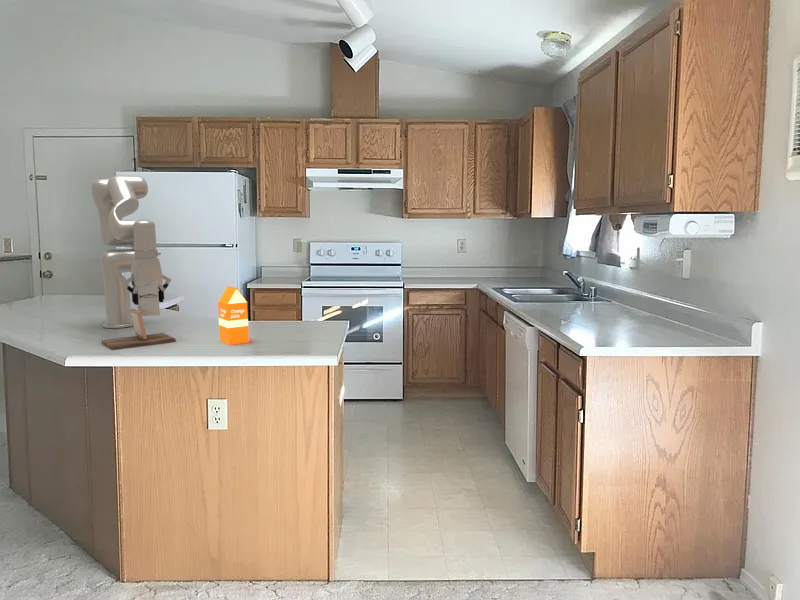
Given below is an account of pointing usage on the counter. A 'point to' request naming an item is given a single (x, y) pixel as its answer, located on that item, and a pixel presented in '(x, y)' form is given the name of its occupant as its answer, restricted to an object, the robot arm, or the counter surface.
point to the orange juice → (233, 317)
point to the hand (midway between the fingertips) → (148, 302)
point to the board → (137, 341)
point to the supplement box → (148, 299)
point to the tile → (138, 323)
